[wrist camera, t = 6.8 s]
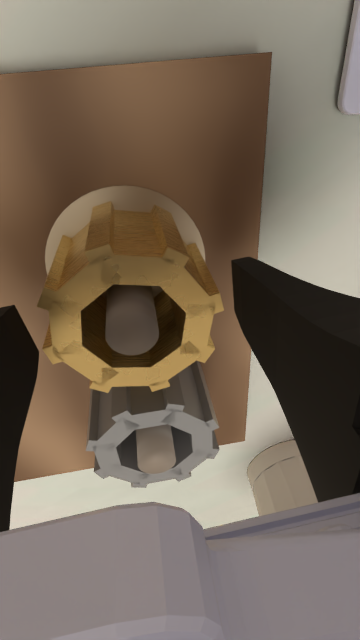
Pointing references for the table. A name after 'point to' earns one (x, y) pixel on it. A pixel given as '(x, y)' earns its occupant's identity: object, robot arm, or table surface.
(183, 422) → the grey gear
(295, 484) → the cup
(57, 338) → the brass gear
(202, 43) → the table surface
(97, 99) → the board
